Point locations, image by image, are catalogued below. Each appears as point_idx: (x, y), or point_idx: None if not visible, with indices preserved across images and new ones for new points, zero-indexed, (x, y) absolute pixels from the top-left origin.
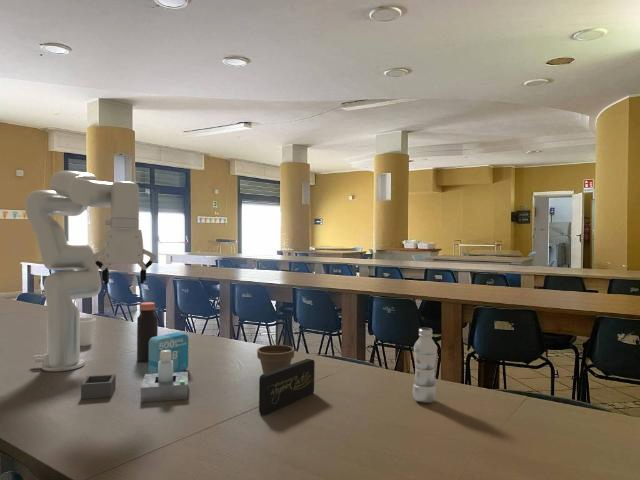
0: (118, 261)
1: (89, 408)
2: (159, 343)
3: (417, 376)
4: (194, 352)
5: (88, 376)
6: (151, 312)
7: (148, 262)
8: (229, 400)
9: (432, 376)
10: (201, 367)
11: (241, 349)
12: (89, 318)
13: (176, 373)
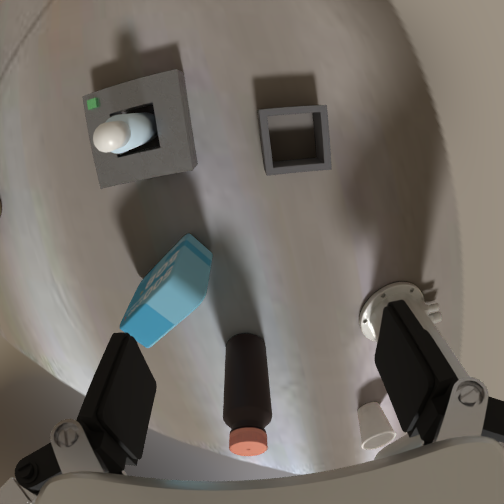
0: (344, 497)
1: (282, 50)
2: (169, 273)
3: None
4: (167, 376)
5: (326, 164)
6: (235, 425)
7: (36, 478)
8: (32, 99)
9: None
10: (120, 292)
11: None
12: (370, 447)
13: (120, 174)
